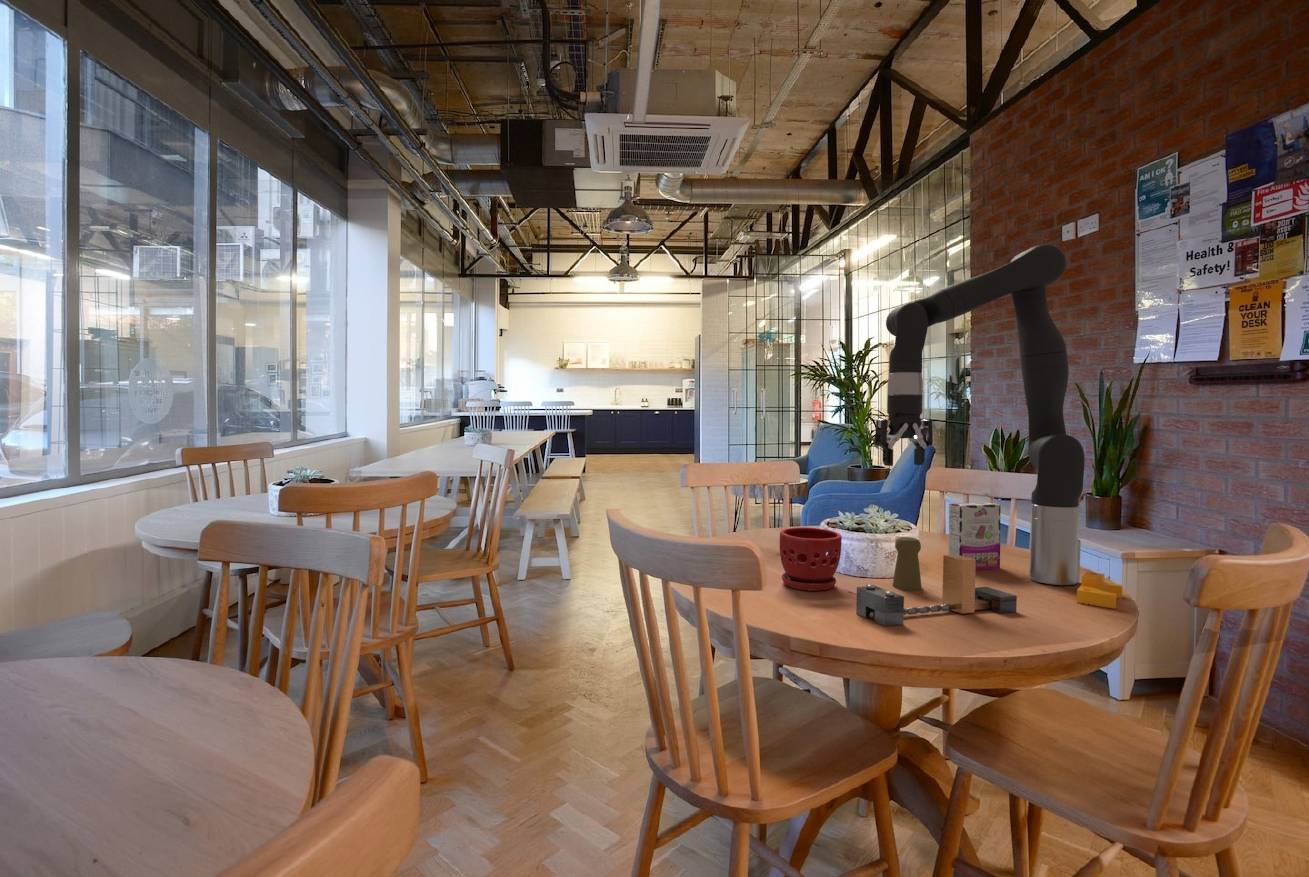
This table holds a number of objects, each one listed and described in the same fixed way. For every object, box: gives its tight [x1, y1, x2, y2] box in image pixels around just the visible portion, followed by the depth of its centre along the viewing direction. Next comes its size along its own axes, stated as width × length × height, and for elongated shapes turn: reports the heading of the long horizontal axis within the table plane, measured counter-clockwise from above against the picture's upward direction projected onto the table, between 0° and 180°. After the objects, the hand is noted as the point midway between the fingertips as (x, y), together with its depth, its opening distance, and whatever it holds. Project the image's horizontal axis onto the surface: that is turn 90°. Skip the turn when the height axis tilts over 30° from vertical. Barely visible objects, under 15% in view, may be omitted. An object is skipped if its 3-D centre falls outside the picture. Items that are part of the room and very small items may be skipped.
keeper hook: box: [975, 586, 1018, 614], centre depth 133 cm, size 4×7×3 cm, turn 19°
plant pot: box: [779, 526, 842, 592], centre depth 148 cm, size 13×13×12 cm
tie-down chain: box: [870, 554, 992, 619], centre depth 128 cm, size 28×5×10 cm, turn 109°
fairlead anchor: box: [855, 583, 905, 627], centre depth 124 cm, size 4×8×6 cm, turn 19°
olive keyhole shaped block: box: [892, 536, 923, 592], centre depth 148 cm, size 6×6×11 cm
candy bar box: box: [948, 502, 1002, 571], centre depth 167 cm, size 11×5×16 cm, turn 102°
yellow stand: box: [1076, 571, 1123, 609], centre depth 140 cm, size 12×4×6 cm
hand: (903, 465), depth 154 cm, fingers open, 8 cm apart
